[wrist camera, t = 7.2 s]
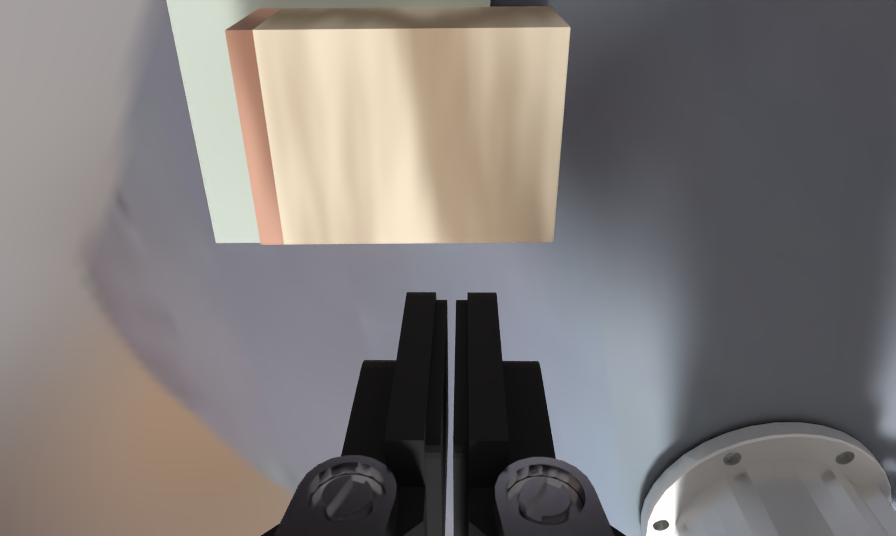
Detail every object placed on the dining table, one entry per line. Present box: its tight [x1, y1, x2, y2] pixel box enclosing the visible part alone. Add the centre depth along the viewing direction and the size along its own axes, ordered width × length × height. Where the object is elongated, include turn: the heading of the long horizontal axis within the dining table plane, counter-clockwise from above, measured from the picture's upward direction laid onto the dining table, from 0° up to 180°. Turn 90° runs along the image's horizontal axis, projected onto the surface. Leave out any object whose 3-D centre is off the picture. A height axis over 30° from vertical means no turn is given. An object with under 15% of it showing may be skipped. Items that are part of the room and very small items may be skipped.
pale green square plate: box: [166, 0, 490, 243], centre depth 25 cm, size 11×11×1 cm
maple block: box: [225, 6, 571, 245], centre depth 23 cm, size 4×7×10 cm
